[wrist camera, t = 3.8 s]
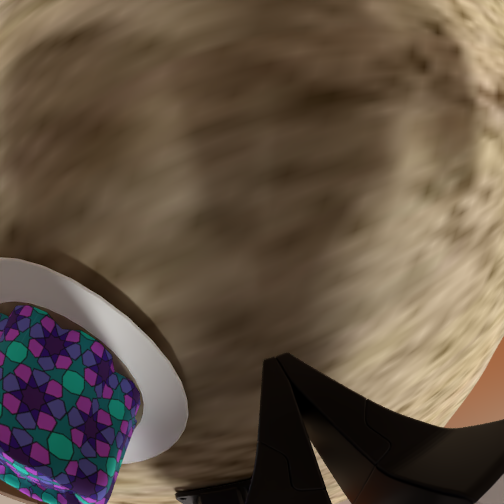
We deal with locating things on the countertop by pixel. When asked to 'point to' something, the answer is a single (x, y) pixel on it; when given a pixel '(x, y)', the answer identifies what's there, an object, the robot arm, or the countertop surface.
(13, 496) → the bay
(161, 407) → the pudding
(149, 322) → the countertop surface
